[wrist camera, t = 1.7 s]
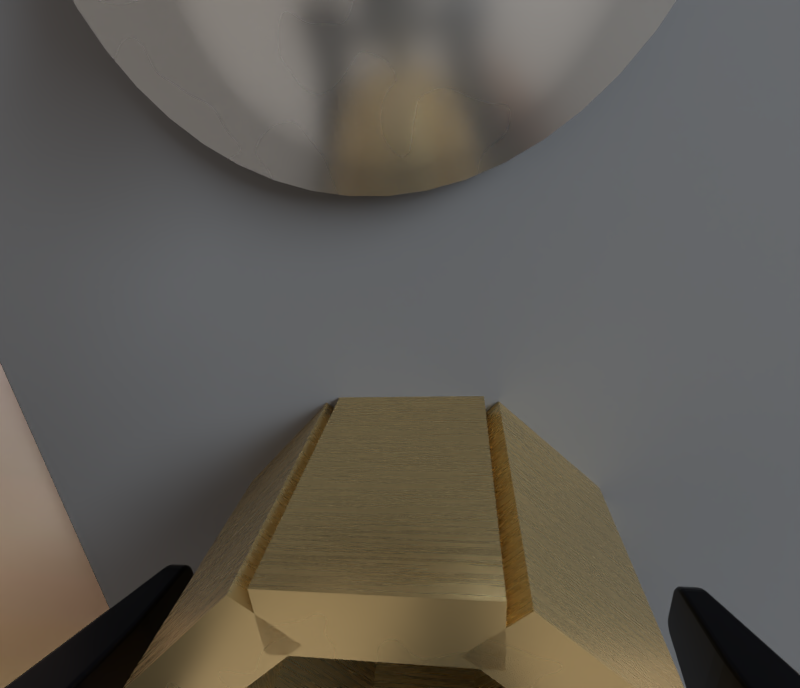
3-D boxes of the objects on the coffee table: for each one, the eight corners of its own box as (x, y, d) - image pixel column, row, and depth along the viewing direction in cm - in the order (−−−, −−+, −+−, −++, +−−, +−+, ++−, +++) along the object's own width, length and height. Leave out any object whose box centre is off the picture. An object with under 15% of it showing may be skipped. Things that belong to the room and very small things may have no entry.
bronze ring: (583, 667, 10) (653, 950, 7) (287, 646, 11) (206, 884, 8) (616, 394, 8) (761, 614, 4) (225, 398, 9) (55, 580, 5)
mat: (766, 731, 11) (776, 751, 11) (157, 682, 13) (149, 696, 13) (1602, -1477, 3) (1775, -1721, 2) (-404, -641, 5) (-473, -705, 5)
